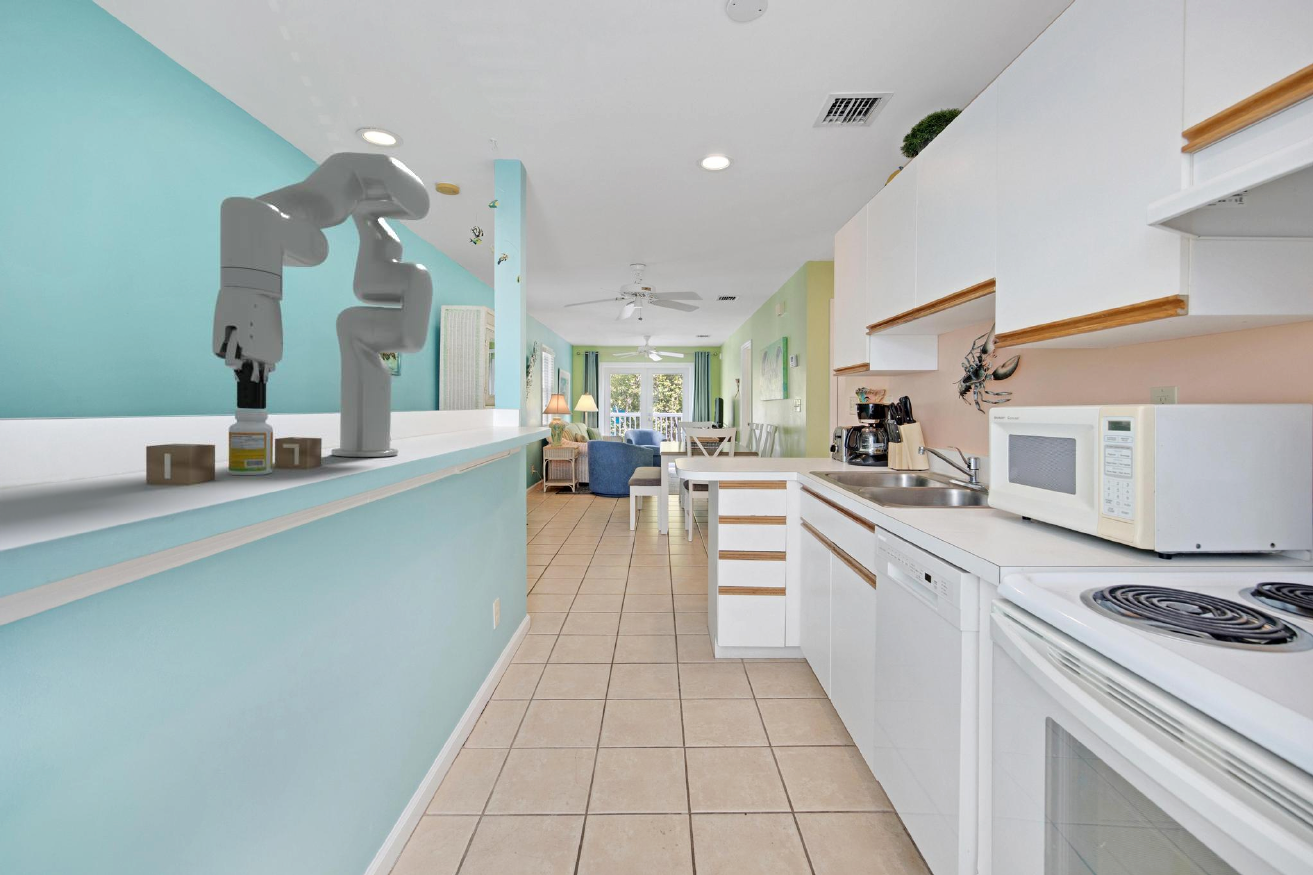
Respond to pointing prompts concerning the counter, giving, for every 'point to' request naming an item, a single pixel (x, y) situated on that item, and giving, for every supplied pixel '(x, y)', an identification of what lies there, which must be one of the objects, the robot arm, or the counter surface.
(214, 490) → the counter surface
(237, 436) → the supplement bottle
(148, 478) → the walnut block
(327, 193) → the robot arm
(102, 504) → the counter surface
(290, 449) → the walnut block
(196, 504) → the counter surface
